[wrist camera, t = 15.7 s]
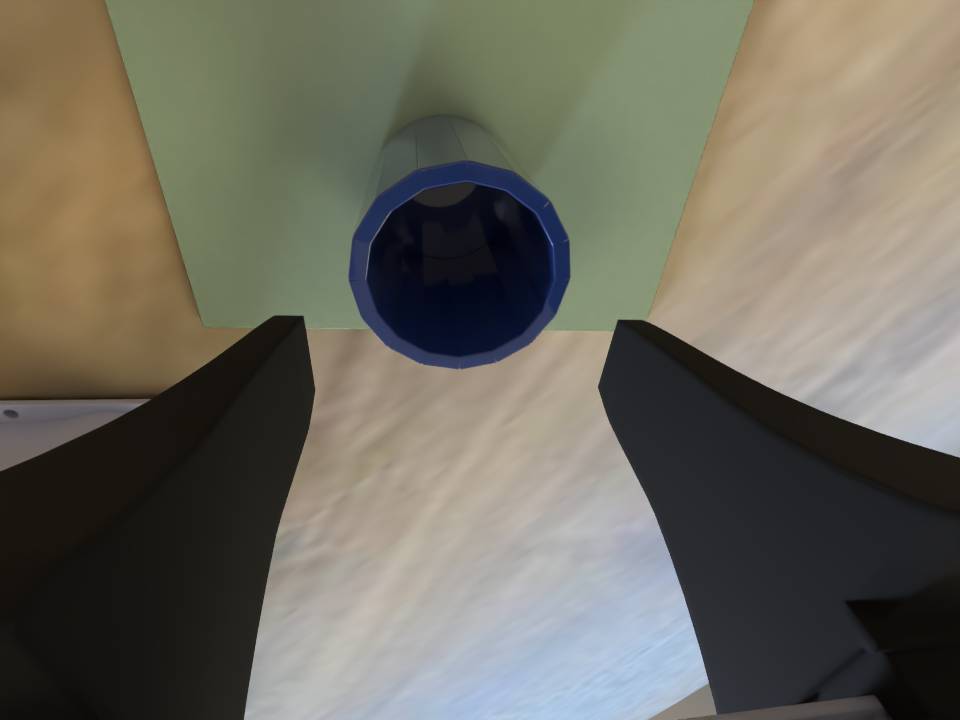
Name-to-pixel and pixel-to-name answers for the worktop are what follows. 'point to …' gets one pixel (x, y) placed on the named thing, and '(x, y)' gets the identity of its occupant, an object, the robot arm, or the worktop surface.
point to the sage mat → (403, 99)
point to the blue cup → (456, 247)
